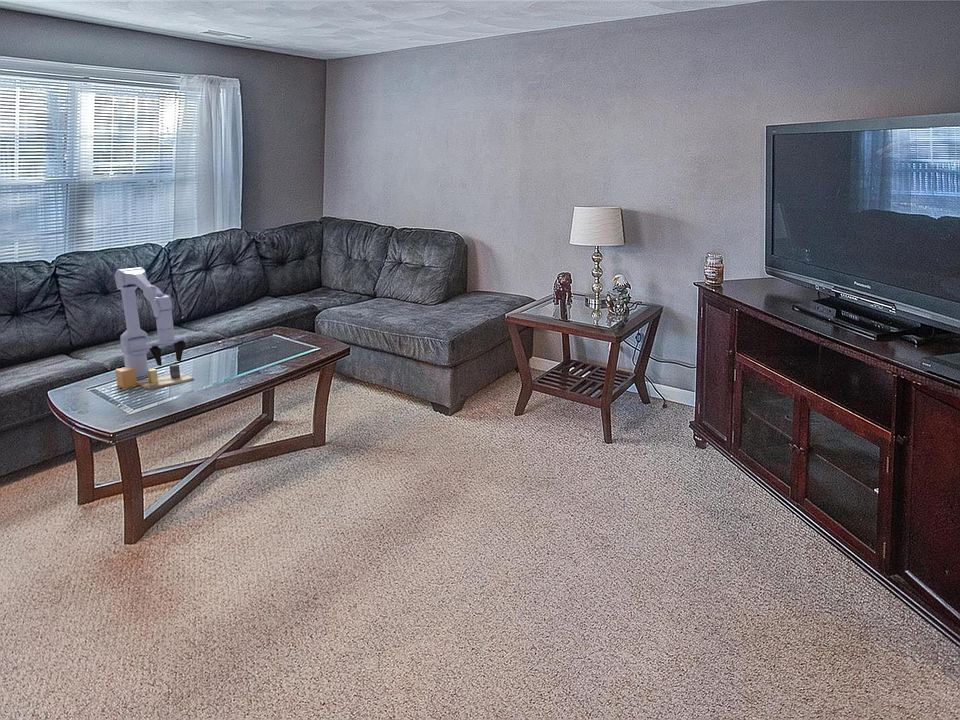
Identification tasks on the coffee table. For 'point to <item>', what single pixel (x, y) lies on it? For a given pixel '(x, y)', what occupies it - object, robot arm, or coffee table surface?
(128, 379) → the orange rectangular block
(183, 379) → the post board
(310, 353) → the coffee table surface
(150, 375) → the brass post
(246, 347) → the coffee table surface
